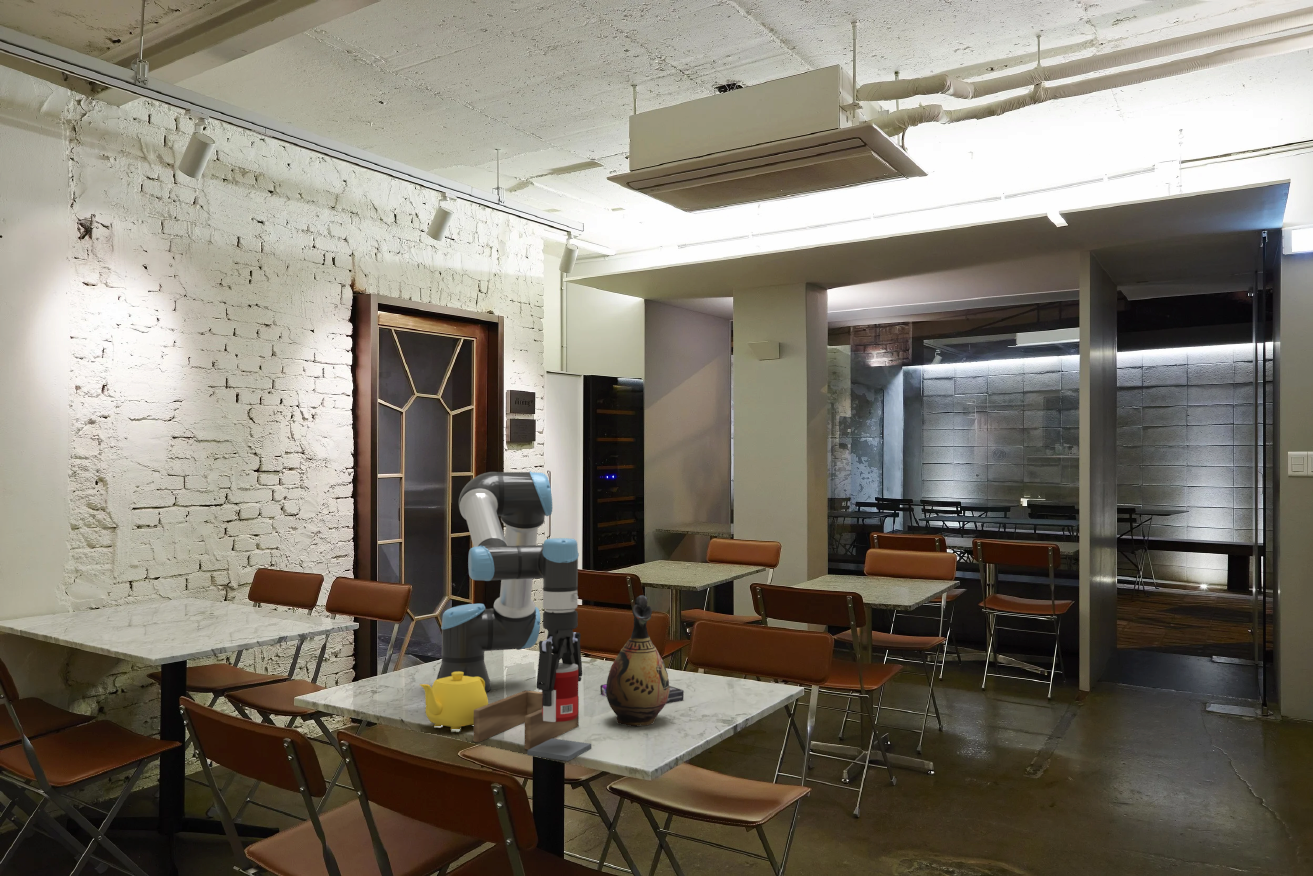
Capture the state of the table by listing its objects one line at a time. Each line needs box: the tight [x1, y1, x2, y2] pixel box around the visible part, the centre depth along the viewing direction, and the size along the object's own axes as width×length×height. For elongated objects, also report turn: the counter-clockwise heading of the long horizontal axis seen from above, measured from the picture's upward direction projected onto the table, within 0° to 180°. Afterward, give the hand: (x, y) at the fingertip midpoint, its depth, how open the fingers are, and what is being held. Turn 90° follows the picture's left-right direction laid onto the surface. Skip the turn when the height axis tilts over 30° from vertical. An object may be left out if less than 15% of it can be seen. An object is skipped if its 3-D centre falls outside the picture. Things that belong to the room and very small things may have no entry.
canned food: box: [541, 662, 579, 722], centre depth 198 cm, size 8×8×11 cm
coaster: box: [526, 738, 592, 762], centre depth 198 cm, size 10×10×1 cm
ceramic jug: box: [605, 594, 670, 728], centre depth 224 cm, size 17×15×30 cm
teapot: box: [419, 671, 489, 730], centre depth 217 cm, size 14×20×13 cm
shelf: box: [472, 690, 580, 750], centre depth 212 cm, size 15×21×7 cm
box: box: [599, 683, 685, 705], centre depth 247 cm, size 14×4×20 cm
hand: (560, 716), depth 198 cm, fingers closed on canned food, 8 cm apart
